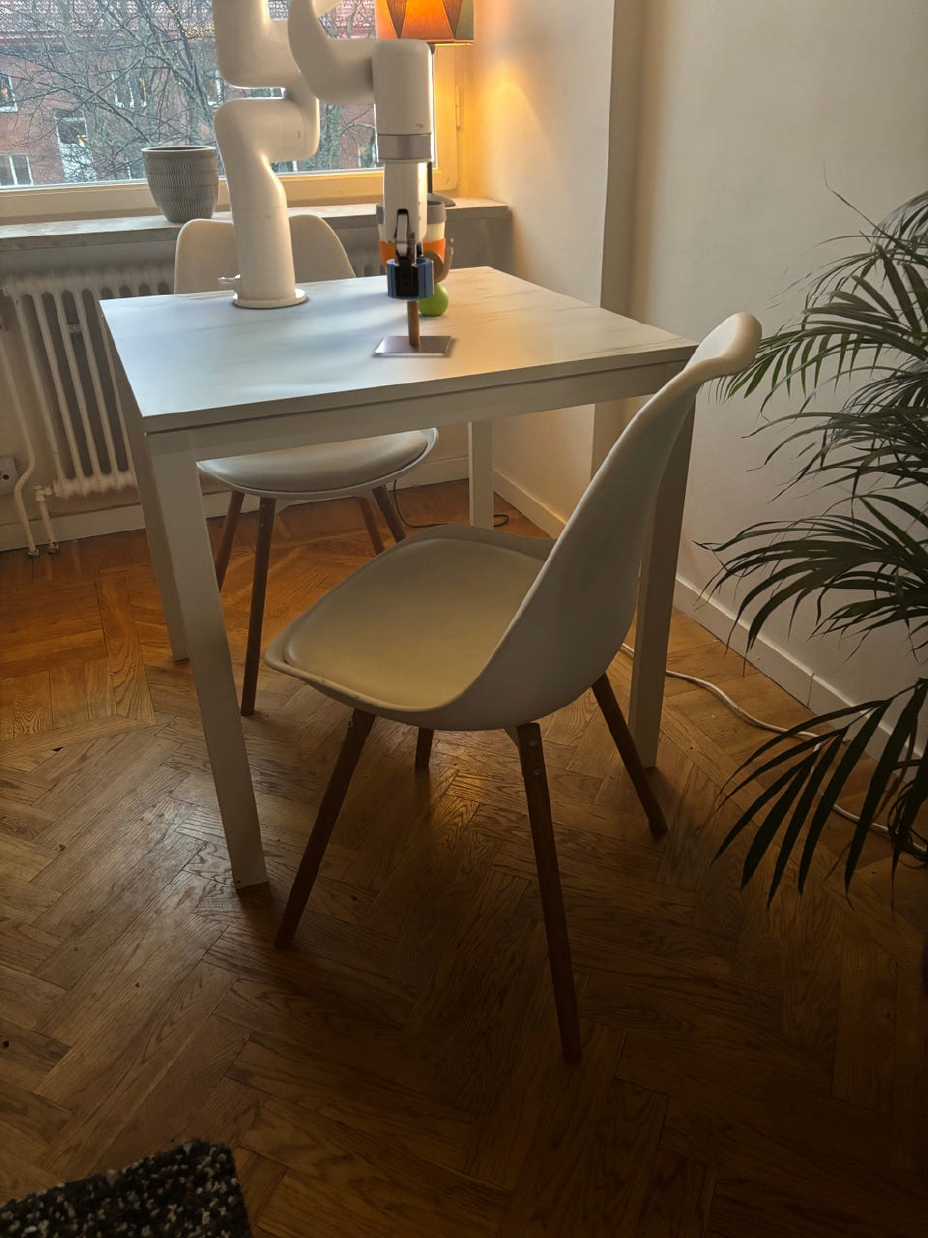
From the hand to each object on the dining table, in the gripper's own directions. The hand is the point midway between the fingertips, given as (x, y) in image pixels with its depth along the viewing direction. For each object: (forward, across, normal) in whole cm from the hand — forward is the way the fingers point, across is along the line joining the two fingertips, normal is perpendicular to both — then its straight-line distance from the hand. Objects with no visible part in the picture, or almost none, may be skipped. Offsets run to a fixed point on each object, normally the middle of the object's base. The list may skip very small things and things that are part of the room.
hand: (410, 289), depth 132 cm
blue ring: (+1, 0, 0) cm, 1 cm away
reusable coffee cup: (+9, -40, -5) cm, 41 cm away
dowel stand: (+8, 0, 0) cm, 8 cm away
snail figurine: (+8, -20, +1) cm, 21 cm away
